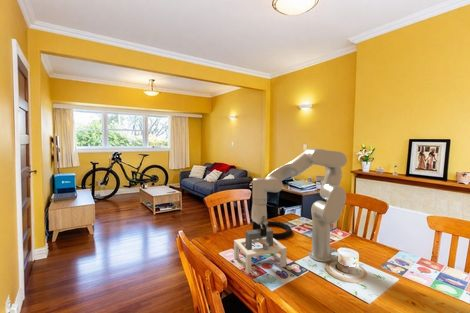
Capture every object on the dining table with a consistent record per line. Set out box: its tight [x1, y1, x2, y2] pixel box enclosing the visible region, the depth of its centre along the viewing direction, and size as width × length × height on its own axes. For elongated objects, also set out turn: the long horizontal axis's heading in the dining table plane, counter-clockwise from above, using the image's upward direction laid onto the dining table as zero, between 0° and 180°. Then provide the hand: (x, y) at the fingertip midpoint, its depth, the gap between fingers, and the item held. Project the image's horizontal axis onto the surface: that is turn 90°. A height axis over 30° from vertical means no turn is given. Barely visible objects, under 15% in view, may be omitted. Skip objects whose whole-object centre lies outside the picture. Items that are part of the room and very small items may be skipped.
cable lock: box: [255, 220, 293, 240], centre depth 176 cm, size 28×4×30 cm
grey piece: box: [245, 227, 274, 250], centre depth 133 cm, size 14×5×12 cm, turn 111°
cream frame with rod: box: [233, 237, 287, 275], centre depth 133 cm, size 22×19×14 cm
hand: (259, 232), depth 133 cm, fingers open, 9 cm apart
